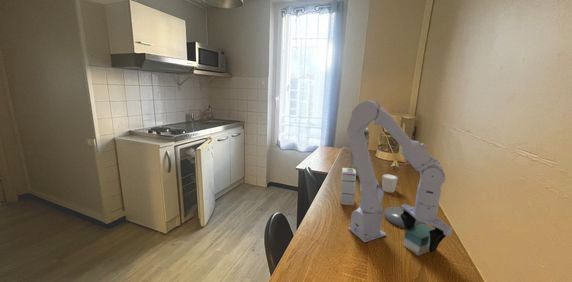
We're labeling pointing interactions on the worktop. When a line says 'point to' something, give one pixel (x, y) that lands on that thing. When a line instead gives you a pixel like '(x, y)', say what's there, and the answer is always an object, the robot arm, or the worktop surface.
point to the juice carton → (352, 161)
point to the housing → (417, 239)
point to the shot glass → (389, 182)
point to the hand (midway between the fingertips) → (420, 242)
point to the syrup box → (348, 186)
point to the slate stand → (396, 216)
